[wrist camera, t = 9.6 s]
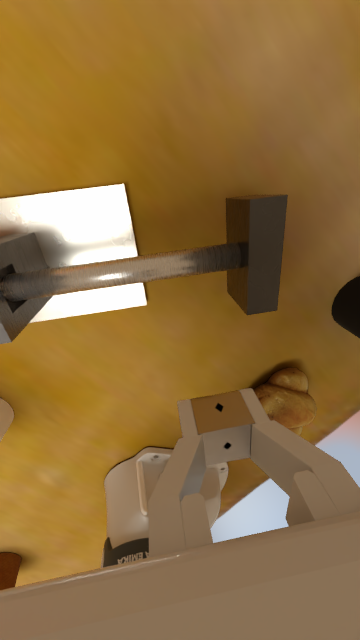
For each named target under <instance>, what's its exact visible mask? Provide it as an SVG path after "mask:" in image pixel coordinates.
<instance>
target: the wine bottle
mask: <svg viewBox="0 0 360 640" xmlns="http://www.w3.org/2000/svg"><path fill="white" fill-rule="evenodd" d="M332 316H333V318H334V320H335V321H336V322H337V323H338V324H339V325H341V326H342V327H343V328H345V329H346V330H348V331H349V332H351V333H352V334H354V335H355V336H357V337H358V338H360V276H359V277H356V278H355V279H353V280H351V281H350V282H348V283H347V284H346V285H345V286H344V287H343V288H342V289H341V290H340V291H339V293H338V294H337V296H336V297H335V299H334V302H333V305H332Z"/></svg>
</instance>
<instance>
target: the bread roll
mask: <svg viewBox="0 0 360 640" xmlns="http://www.w3.org/2000/svg"><path fill="white" fill-rule="evenodd" d="M253 391H254V393H255V394H256V396H257V398H258V400H259V401H260V403H261V405H262V407H263V409H264V410H265V412H266V414H267V416H268V417H269V419H270V421H273V420H275V421H276V422H278V423H279V424H281V425H283V426H284V427H286V428H287V429H289V430H290V431H292V432H294V433H295V434H297V435H298V436H300V434H301V431H302V426H305V425H308V424H310V423H311V422H312V421H313V419H314V417H315V416H316V410H317V408H316V404H315V401H314V400H313V399H312V397H311V396H310V395H309V394H308V380H307V377H306V375H305V374H304V373H303V372H302V371H300V370H299V369H296V368H292V367H291V368H285V369H282V370H279V371H277V372H276V373H274V374H273V375H272V376H271V377H270V378H269V380H268V381H267V383H265V384H262V385H260V386H258V387H256V388H255V389H254V390H253Z"/></svg>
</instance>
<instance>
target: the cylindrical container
mask: <svg viewBox="0 0 360 640" xmlns="http://www.w3.org/2000/svg"><path fill="white" fill-rule="evenodd" d="M13 418H14V412H13V409H12V408H11V406H10V405H9V404H8V403H7V402H6V401H4V400H3V399H1V398H0V441H1V440H2V438H3V436H4V435H5V433H6V431H7V429H8V428H9V426H10V424H11V423H12V421H13Z"/></svg>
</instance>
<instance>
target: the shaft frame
mask: <svg viewBox="0 0 360 640" xmlns="http://www.w3.org/2000/svg"><path fill="white" fill-rule="evenodd" d="M135 256H138V252H137V247H136V242H135V236H134V231H133V226H132V221H131V215H130V210H129V205H128V199H127V194H126V189H125V184H120V185H111V186H103V187H95V188H86V189H78V190H70V191H61V192H53V193H45V194H36V195H28V196H20V197H11V198H3V199H0V275H6V274H13V273H20V272H27V271H35V270H42V269H49V268H56V267H63V266H70V265H78V264H85V263H92V262H99V261H106V260H113V259H121V258H128V257H135ZM142 305H147V300H146V294H145V289H144V284H143V283H137V284H130V285H123V286H116V287H109V288H102V289H96V290H89V291H82V292H75V293H68V294H62V295H55V296H48V297H41V298H34V299H27V300H21V301H14V302H7V301H6V299H5V297H4V295H3V293H2V291H1V289H0V344H3V343H9V342H12V341H13V340H14V339H15V338H16V337H17V336H18V334H19V333H20V332H21V331H22V330H23V329H24V328H25V327H26V326H27V324H28V323H31V322H37V321H44V320H51V319H57V318H64V317H70V316H77V315H83V314H90V313H96V312H103V311H110V310H116V309H123V308H129V307H136V306H142Z"/></svg>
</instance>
